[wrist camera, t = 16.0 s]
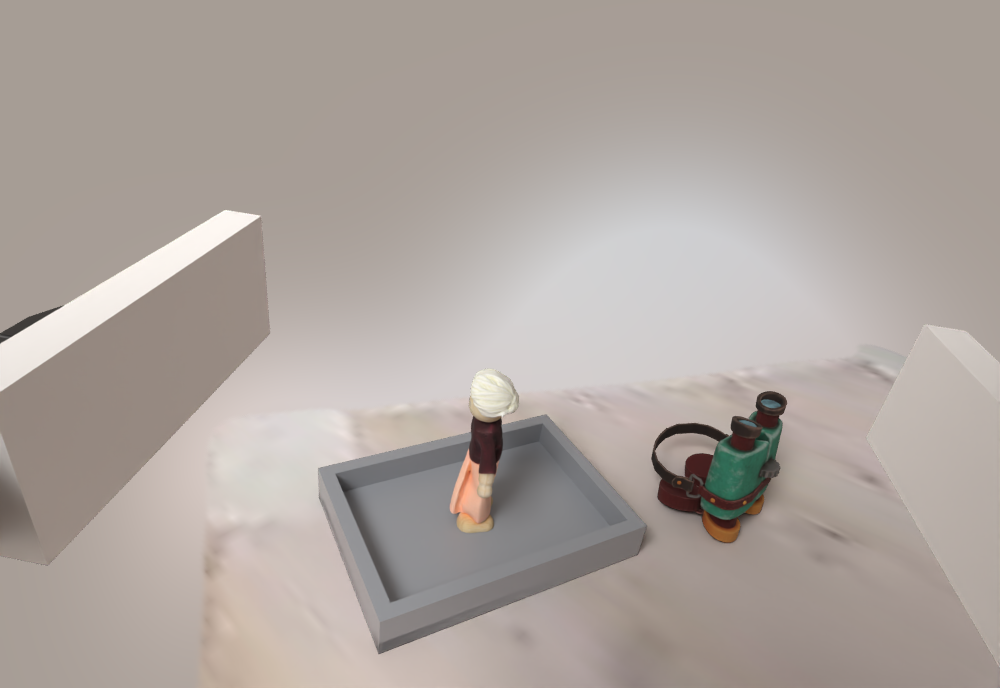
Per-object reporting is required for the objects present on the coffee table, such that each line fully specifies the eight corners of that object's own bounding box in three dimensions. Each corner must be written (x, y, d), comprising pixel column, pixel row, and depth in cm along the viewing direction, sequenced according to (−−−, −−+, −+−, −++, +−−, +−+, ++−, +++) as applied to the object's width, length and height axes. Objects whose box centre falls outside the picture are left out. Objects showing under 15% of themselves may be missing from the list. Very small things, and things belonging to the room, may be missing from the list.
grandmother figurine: (443, 481, 50) (456, 344, 44) (490, 479, 51) (510, 344, 45) (455, 559, 44) (472, 411, 37) (509, 555, 45) (535, 410, 38)
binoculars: (696, 354, 55) (815, 399, 49) (676, 455, 60) (782, 506, 54) (640, 390, 49) (768, 445, 43) (623, 498, 54) (735, 562, 48)
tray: (541, 440, 58) (546, 414, 56) (637, 554, 47) (646, 525, 46) (319, 498, 49) (318, 468, 47) (378, 654, 38) (379, 622, 37)
